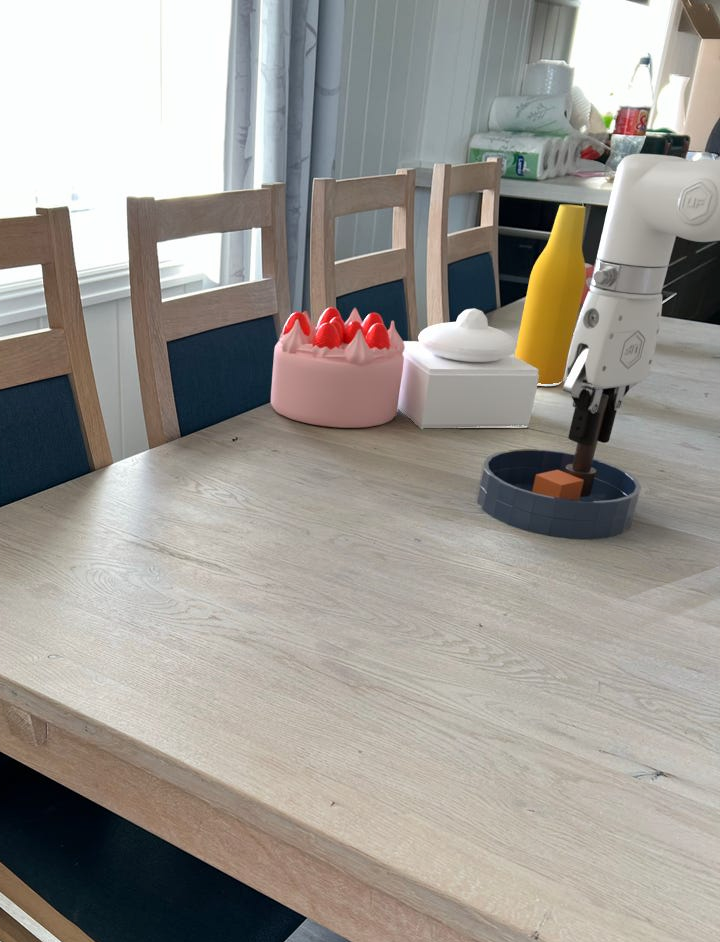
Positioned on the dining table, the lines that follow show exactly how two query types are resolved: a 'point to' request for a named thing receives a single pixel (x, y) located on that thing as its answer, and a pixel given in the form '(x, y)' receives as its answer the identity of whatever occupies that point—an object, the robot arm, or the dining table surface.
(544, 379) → the beer bottle
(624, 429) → the dining table surface
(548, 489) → the block
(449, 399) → the butter dish
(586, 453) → the pestle
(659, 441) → the dining table surface
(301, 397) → the cake
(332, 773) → the dining table surface
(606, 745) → the dining table surface
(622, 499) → the bowl
